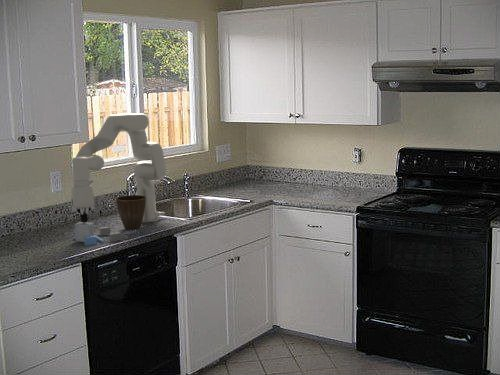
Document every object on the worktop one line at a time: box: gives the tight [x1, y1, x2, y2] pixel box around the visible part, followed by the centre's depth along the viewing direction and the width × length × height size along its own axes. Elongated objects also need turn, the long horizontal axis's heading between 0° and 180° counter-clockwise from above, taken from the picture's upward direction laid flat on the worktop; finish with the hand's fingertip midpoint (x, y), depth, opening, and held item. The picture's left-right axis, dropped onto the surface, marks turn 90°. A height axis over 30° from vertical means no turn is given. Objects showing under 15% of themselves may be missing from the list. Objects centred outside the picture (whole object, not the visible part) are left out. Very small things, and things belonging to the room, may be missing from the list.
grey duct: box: [98, 226, 130, 242], centre depth 338 cm, size 8×18×4 cm, turn 30°
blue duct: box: [74, 230, 105, 246], centre depth 332 cm, size 8×18×4 cm, turn 30°
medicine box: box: [74, 221, 95, 243], centre depth 331 cm, size 8×4×9 cm, turn 72°
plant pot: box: [115, 194, 146, 231], centre depth 355 cm, size 15×15×16 cm
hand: (84, 222), depth 330 cm, fingers closed
